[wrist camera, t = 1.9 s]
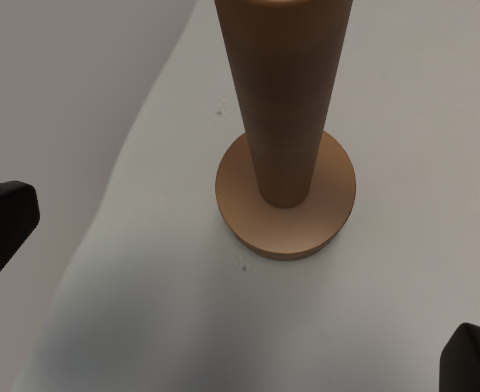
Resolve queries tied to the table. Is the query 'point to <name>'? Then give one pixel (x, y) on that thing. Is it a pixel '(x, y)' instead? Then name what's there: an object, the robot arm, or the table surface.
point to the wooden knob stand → (284, 126)
